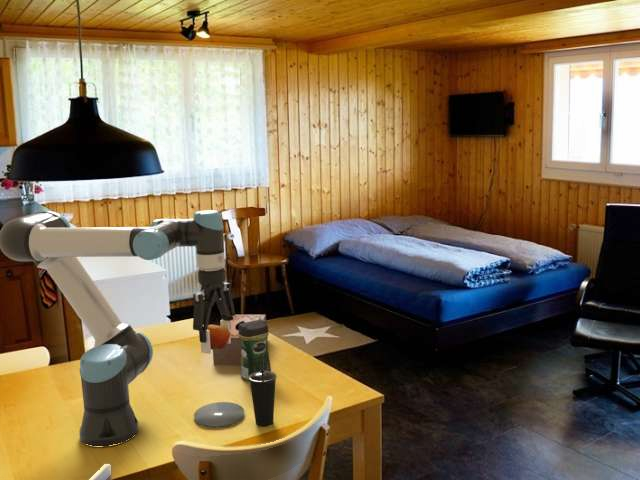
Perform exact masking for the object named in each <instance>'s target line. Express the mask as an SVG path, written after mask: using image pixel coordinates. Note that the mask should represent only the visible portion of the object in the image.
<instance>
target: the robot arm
mask: <svg viewBox="0 0 640 480" xmlns="http://www.w3.org/2000/svg"><path fill="white" fill-rule="evenodd" d="M223 222H224V221H223V215H222V212H220V211H219V210H216V209H215V210H213V209H207V210H199V211H195V212H194V214H193V217H192V218H168V217H167V218H166V217H165V218H159V219H157V218H156V219H154V220H153V221H152V222H151V224H150V225H149V226H118V227H117V226H115V227H114V226H113V227H112V226H107V227H105V226H102V227H94V226H93V227H88V226H87V227H84V226H83V227H71V225H70V222H69V221H68V220H67V219H66V218H65V217H64V216H63V215H62V214H60V213H58V212H56V211H52V210H51V211H50V210H46V211H43V210H41V211H35V212H34V213H31V214H27V215H24V216H21V217H16V218H13V219H10V220H9V221H7V222H6V223H5V224H4V225H3V226H2V228H1V229H0V250H1V252H2V253H3V255H5V256H6V257H8V259H10V260H12V261H16V262H33V263H34V265H35V266H36V267H37V269H44V270H46V272H47V273H48V274H49V276H50V277H51V279H52V280H53V281H54V284H56V285H57V287H58V289H59V290H60V291H61V293H62V294H63V296H64V297H65V299H66V301H67V302H68V303H69V305H70V306H71V307H72V309H73V310H74V312H75V313H76V315H77V316H78V318H79V319H80V320H81V322H82V323H83V325H84V326H85V328H86V329H87V330H88V332H89V334H90V335H91V336H92V337H93V339H94V346H93V347H92V348H89V350H87V351H86V352H84V353H83V354H82V356H81V357H80V362H79V375H80V381H81V383H80V384H81V391H82V399H83V400H82V401H83V410H84V411H83V416H82V421H81V426H80V428H79V440H81V441H82V442H83V443H85V444H88V445H92V446H109V445H113V444H118V443H121V442H124V441H126V440H128V439H130V438H132V437H133V436H134V435H136V436H137V435H138V433H139V430H138V429H139V421H138V419H137V417H136V415H135V412H134V410H133V408H132V406H131V402H130V389H129V385H130V384H131V382H133V381H134V380H135V379H136V378H137V377H138V376H140V374H143V373H144V371H145V370H147V368H148V366H149V365H150V364H151V362H152V358H153V354H154V350H153V345H152V342H151V341H150V339H149V337H147V335H146V334H144V333H143V332H139V331H135V330H134V328H133V327H132V326H131V324H130V323H126V322H122V321H121V320H120V318H119V316H118V315H117V314H116V312H115V311H114V310H113V308H112V307H111V305H110V303H109V302H108V301H107V299H106V298H105V296H104V295H103V293H102V292H101V291H100V289H99V288H98V286H97V284H96V283H95V282H94V280H93V279H92V277H91V276H90V275H89V273H88V271H86V269H85V267H84V266H83V265H82V262H81V261H80V260H79V259H78V257H81V258H83V257H85V258H87V257H88V258H89V257H92V258H96V257H97V258H98V257H103V258H106V257H107V258H109V257H111V258H112V257H113V258H114V257H118V258H119V257H129V258H130V257H138V258H140V259H143V260H146V261H151V260H156V259H159V258H161V257H162V256H163V255H164V254H167V253H168V252H170V251H171V250H173V249H175V248H176V249H177V248H180V247H181V248H182V247H189V248H190V247H192V248H193V247H195V253H196V254H195V255H196V257H195V258H196V267H197V268H198V269H197V281H198V283H199V285H200V286H201V287H200V290H199V292H198V293H197V292H196V293H193V295H192V297H193V314H192V315H193V318H192V319H193V320H192V321H193V322H192V330H194V331H198V336H199V337H198V338H199V342H200V350H201V351H200V352H201V354H202V353H203V354H207V355H210V354H211V353H212V349H211V346H210V330H207V328H208V326H209V323H210V317H211V312H212V307H214V305H215V304H216V306H217V309H218V312H219V313H220V316H221V320H220V321H219V323H220V325H219V326H222V327H225V328H227V329H228V330H229V331H230V329H231V327H230V320H233V319H234V317H232V316H235V315H236V312H235V311H236V310H235V306H234V305H235V304H234V299H233V294H232V283H230V282H226V280H227V272H226V267H225V266H226V260H225V259H226V257H225V242H224V241H225V240H224V238H225V237H224V223H223ZM230 343H231V338H229V340H228V342H227V344H230ZM137 432H138V433H137ZM134 437H135V436H134ZM134 437H133V438H134ZM133 438H132V439H133ZM130 440H131V439H130ZM81 441H80V442H81ZM82 442H81V443H82ZM83 443H82V444H83ZM124 443H125V442H124Z"/></svg>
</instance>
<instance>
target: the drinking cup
mask: <svg viewBox="0 0 640 480" xmlns="http://www.w3.org/2000/svg"><path fill="white" fill-rule="evenodd" d="M260 359H261V371H257V372H255V373H252V374H250V375H249V377H248V379H249V380H248V381H249V386H250V392H251V399H252V407H253V413H254V420H255V425H256V426H257V427H261V428H266V427H270V426H272V425H273V424H274V417H275V416H274V414H275V413H274V412H275V398H276V397H275V396H276V395H275V394H276V393H275V392H276V379H277V377H278V376H277V374H276V373H275V372H272V371H271V372H269V371H263V354H260Z"/></svg>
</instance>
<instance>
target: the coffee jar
mask: <svg viewBox="0 0 640 480" xmlns="http://www.w3.org/2000/svg"><path fill="white" fill-rule="evenodd" d="M269 330H270V329H269V325H268V323H267V320H266V321H264V320H262V319H259V320H255V321H250V322H246V323H240V324H239V330H238V335H239V338H240V340H241V365H240V376H241V377H242V378H243V379H244V380H247V381H249V379H248V377H249V375H250V374H252V373H255V372H257V371H261V359H260V354H263V371H269V372H272V368H271V367H272V366H271V360H270V355H269V353H270V352H269V347H268V338H269V333H270V332H269Z"/></svg>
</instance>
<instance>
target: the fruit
mask: <svg viewBox="0 0 640 480" xmlns="http://www.w3.org/2000/svg"><path fill="white" fill-rule="evenodd" d="M207 330H210V346H211V351H213V350H215V351H216V353H217V350H219V349H223V348H224V347H225V346H226V344H227V342H228V340H229V338H230V335H231V333H230V331H229V330H228V329H227V328H225V327H222V326H220V325H217V324H208V328H207Z"/></svg>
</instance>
